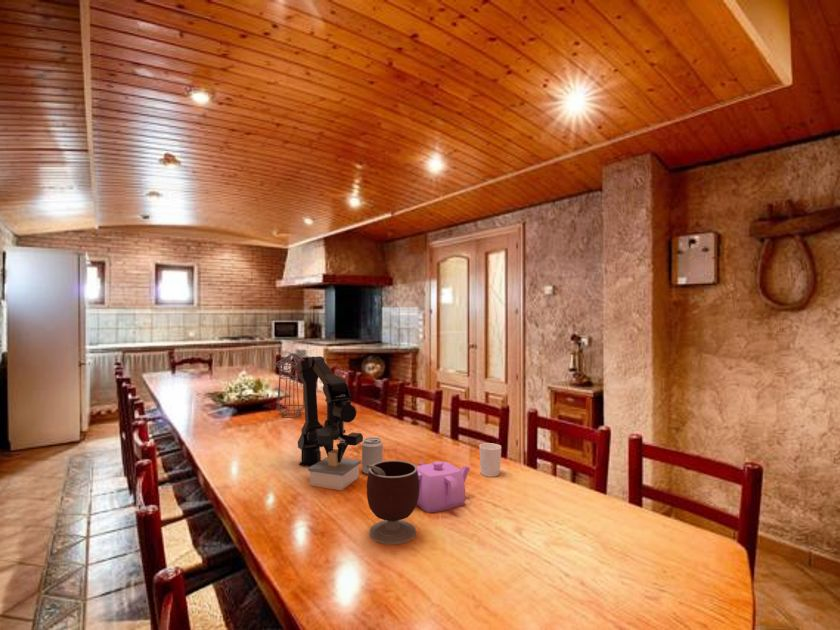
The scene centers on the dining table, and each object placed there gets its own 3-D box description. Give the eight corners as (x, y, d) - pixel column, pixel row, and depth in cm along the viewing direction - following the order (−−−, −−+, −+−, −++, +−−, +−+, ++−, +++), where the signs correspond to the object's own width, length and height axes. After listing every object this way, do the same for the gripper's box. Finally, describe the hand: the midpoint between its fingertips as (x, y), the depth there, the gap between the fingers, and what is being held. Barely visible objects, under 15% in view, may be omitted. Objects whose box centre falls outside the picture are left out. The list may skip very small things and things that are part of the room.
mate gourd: (395, 515, 129) (395, 446, 128) (429, 533, 119) (430, 457, 119) (350, 534, 118) (351, 458, 118) (384, 555, 108) (385, 472, 108)
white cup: (503, 471, 165) (503, 444, 165) (497, 479, 158) (498, 450, 157) (482, 468, 168) (483, 441, 168) (476, 475, 161) (476, 447, 161)
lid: (308, 470, 150) (308, 454, 150) (328, 459, 162) (328, 443, 162) (342, 475, 146) (342, 458, 146) (360, 463, 158) (360, 447, 158)
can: (379, 476, 159) (379, 442, 159) (358, 474, 161) (359, 441, 161) (384, 469, 167) (385, 436, 167) (365, 467, 168) (365, 435, 168)
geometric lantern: (272, 418, 244) (272, 354, 243) (285, 412, 259) (285, 352, 259) (299, 419, 241) (299, 355, 241) (311, 413, 256) (311, 352, 256)
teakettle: (403, 510, 133) (403, 468, 132) (419, 488, 149) (419, 451, 149) (459, 518, 128) (460, 474, 128) (470, 494, 144) (470, 456, 144)
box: (310, 485, 150) (310, 470, 150) (328, 473, 162) (328, 459, 162) (341, 490, 146) (341, 475, 146) (358, 477, 158) (358, 463, 158)
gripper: (298, 419, 149) (298, 466, 149) (348, 424, 143) (348, 473, 143) (316, 412, 160) (316, 456, 160) (363, 416, 154) (363, 462, 154)
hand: (335, 461), depth 154 cm, fingers closed on lid, 3 cm apart
